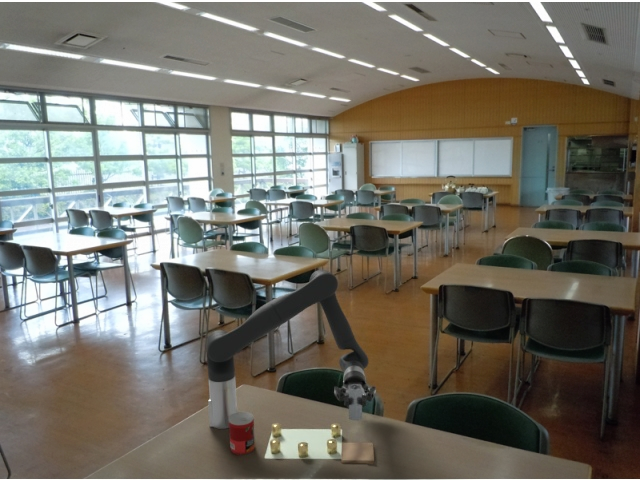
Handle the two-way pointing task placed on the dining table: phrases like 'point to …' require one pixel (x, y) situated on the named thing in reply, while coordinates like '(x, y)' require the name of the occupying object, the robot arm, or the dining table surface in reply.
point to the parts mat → (310, 436)
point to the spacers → (303, 445)
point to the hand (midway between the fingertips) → (355, 404)
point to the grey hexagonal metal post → (355, 402)
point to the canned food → (241, 433)
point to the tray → (357, 453)
